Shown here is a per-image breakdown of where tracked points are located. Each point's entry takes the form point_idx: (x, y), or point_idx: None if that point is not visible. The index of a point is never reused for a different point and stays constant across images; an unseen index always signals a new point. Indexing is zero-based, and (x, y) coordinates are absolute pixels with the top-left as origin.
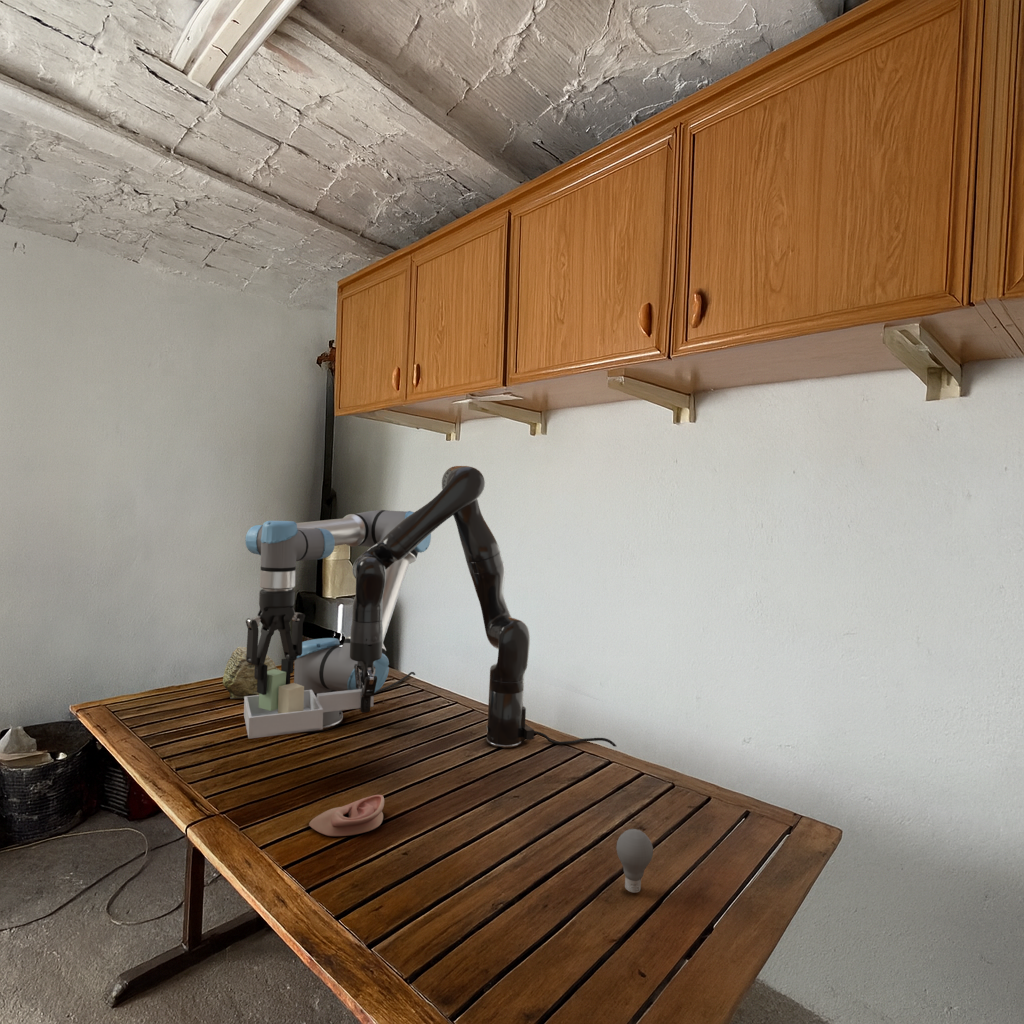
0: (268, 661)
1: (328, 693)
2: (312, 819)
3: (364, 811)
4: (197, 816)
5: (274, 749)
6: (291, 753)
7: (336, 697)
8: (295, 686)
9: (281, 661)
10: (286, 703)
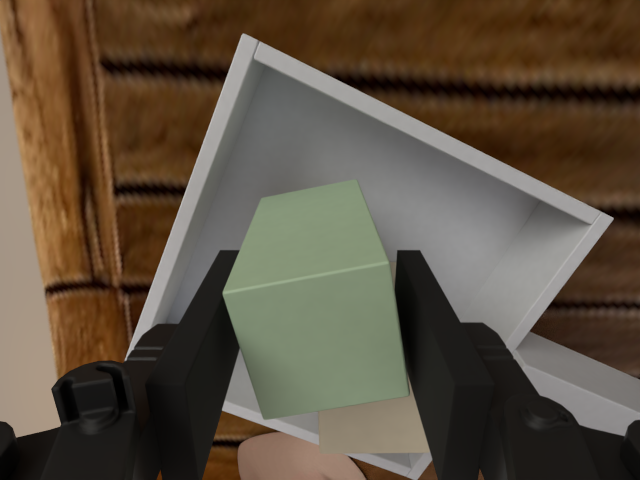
0: None
1: (562, 402)
2: (251, 442)
3: None
4: (72, 266)
5: (434, 2)
6: (449, 84)
7: None
8: (391, 427)
9: (448, 364)
10: None
